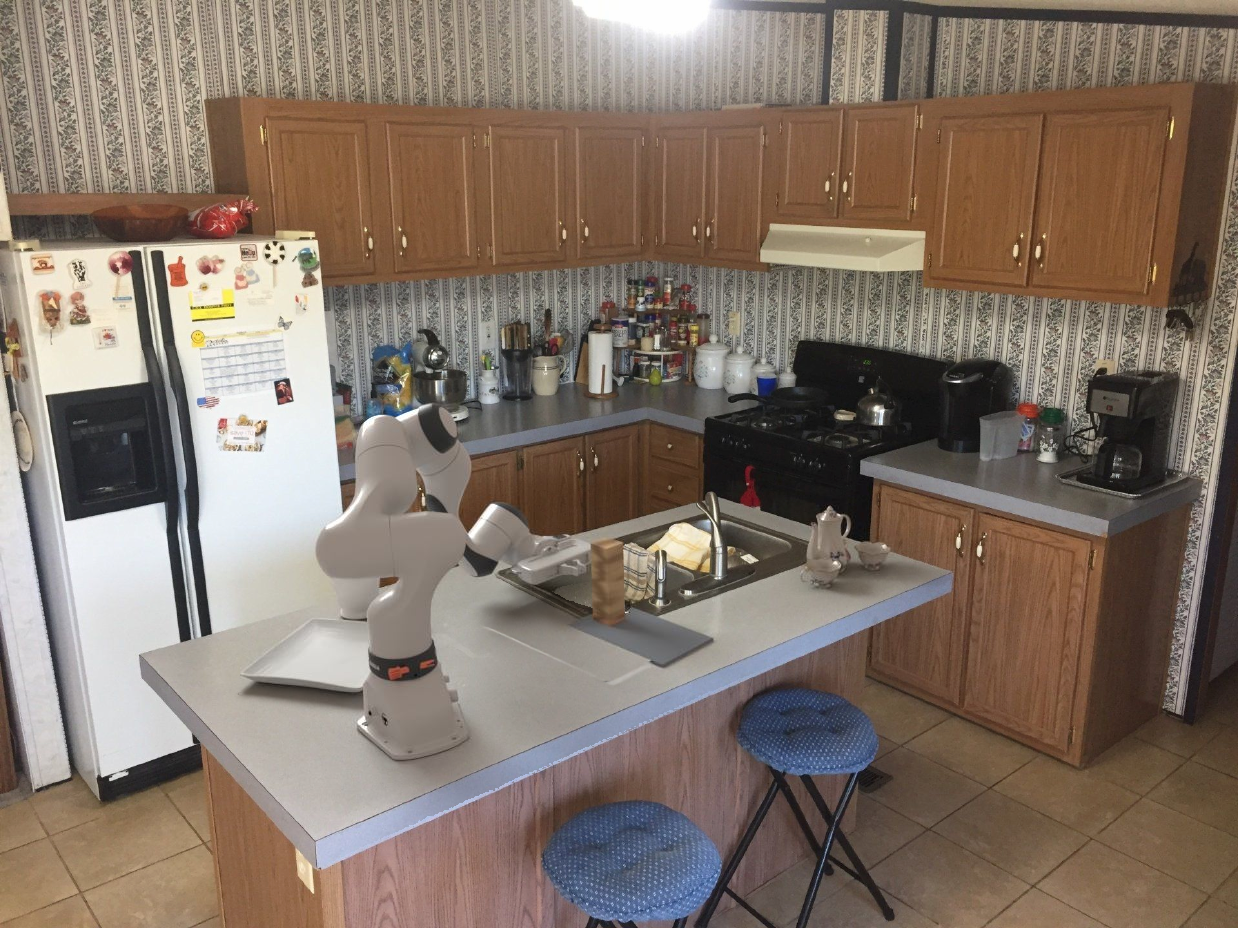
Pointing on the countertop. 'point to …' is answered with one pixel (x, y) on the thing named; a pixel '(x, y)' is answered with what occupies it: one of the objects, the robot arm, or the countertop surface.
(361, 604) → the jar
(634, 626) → the mat
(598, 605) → the oak block
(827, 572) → the chinaware
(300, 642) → the square plate
